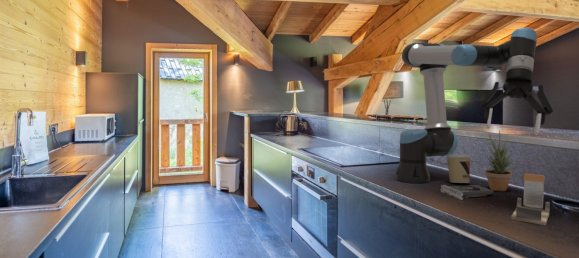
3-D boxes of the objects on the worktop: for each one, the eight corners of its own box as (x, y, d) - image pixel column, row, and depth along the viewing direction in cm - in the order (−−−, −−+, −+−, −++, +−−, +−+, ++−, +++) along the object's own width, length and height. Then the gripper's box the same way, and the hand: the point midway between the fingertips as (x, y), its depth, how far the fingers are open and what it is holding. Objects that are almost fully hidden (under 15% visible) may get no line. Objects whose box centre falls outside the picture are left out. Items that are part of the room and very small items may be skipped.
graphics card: (460, 192, 124) (440, 184, 136) (460, 202, 124) (439, 193, 136) (501, 190, 127) (477, 182, 139) (500, 200, 127) (477, 191, 139)
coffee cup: (465, 183, 144) (464, 154, 145) (443, 182, 152) (442, 155, 153) (475, 182, 150) (474, 155, 151) (454, 181, 157) (453, 155, 158)
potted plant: (479, 187, 144) (480, 128, 142) (497, 186, 146) (499, 128, 145) (499, 193, 134) (501, 130, 133) (518, 191, 136) (520, 129, 135)
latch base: (517, 208, 114) (518, 196, 114) (549, 213, 108) (550, 201, 108) (511, 219, 103) (511, 206, 103) (545, 225, 98) (546, 211, 98)
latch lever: (523, 206, 112) (524, 173, 112) (543, 209, 109) (544, 175, 108) (522, 207, 111) (524, 174, 110) (542, 210, 108) (544, 176, 107)
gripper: (479, 64, 118) (470, 121, 114) (568, 69, 108) (562, 133, 103) (476, 73, 125) (468, 128, 121) (560, 79, 114) (554, 139, 110)
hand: (511, 130), depth 112 cm, fingers open, 13 cm apart
